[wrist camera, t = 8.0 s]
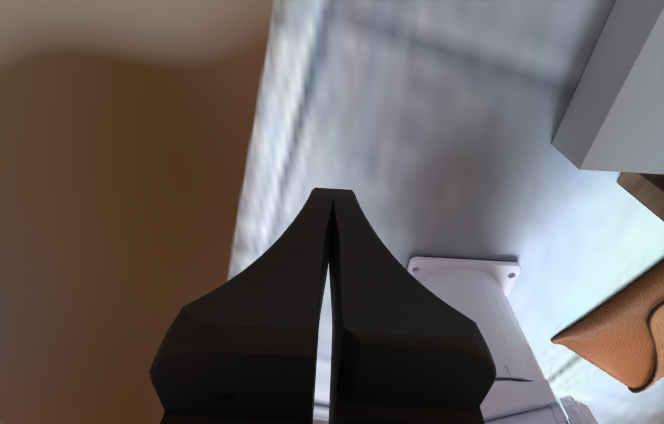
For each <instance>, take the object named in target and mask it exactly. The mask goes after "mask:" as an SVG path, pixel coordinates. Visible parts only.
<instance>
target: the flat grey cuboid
mask: <svg viewBox="0 0 664 424" xmlns="http://www.w3.org/2000/svg"><path fill="white" fill-rule="evenodd" d="M552 145H553V146H554V147H555V148H556V149H557V150H559V151H560V152H561V153H562V154H563V155H564V156H565V157H566V158H567V159H569V160H570V161H571V162H572V163H573V164H574V165H575V166H576V167H577V168H578V169H583V170H600V171H616V172H633V173H650V174H664V0H616V1H615V3H614V5H613V7H612V10H611V12H610V14H609V16H608V19H607V21H606V23H605V25H604V28H603V30H602V32H601V34H600V36H599V39H598V41H597V43H596V45H595V48H594V50H593V52H592V54H591V57H590V59H589V61H588V63H587V65H586V68H585V70H584V72H583V74H582V77H581V79H580V81H579V83H578V86H577V88H576V90H575V92H574V94H573V97H572V99H571V101H570V103H569V106H568V108H567V110H566V112H565V115H564V117H563V119H562V121H561V123H560V126H559V128H558V130H557V132H556V135H555V137H554V139H553V141H552Z"/></svg>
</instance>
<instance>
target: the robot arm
mask: <svg viewBox="0 0 664 424" xmlns="http://www.w3.org/2000/svg"><path fill="white" fill-rule="evenodd" d="M328 263H329V273H330V289H331V305H332V354H331V380H330V405H329V424H569V423H568V420H569V422H570V424H598V423H597V421H596V419H595V418H594V416H593V414H592V413H591V411H590V409H589V408H588V407H587V406H586V405H584V404H583V403H581V402H579V401H575V400H574V399H573V397H571V396H565V397H562V398H560V400H561V403H562V405H563V407H564V409H565V411H566V413H567V415H568V417H569V419H568V420H567V418H566V416H565V414H564V412H563V410H562V408H561V407H560V405H559V403H558V401H557V399H556V397H555V395H554V393H553V391H552V389H551V387H550V386H549V384H548V382H547V380H546V379H545V377H544V375H543V373H542V371H541V369H540V367H539V365H538V363H537V361H536V358H535V356H534V354H533V352H532V350H531V348H530V346H529V344H528V342H527V340H526V338H525V335H524V333H523V331H522V329H521V327H520V325H519V323H518V321H517V319H516V317H515V315H514V312H513V310H512V308H511V306H510V304H509V302H508V300H507V297H508V295H509V293H510V291H511V289H512V287H513V285H514V283H515V281H516V279H517V277H518V275H519V273H520V271H521V267H520V265H519V264H518V263H516V262H502V261H485V260H468V259H450V258H433V257H413V258H412V259H410V261H409V265H408V269H407V270H406V269H405V268H404V267H403V266H402V265H401V264H400V263H399V262H398V261H397V260H396V258H395V257H394V256H393V255H392V254H391V253H390V251H389V250H388V249H387V248H386V246H385V245H384V244H383V243H382V241H381V240H380V238H379V237H378V236H377V234H376V233H375V231H374V230H373V228H372V227H371V225H370V223H369V222H368V220H367V218H366V217H365V215H364V213H363V211H362V209H361V207H360V205H359V203H358V201H357V199H356V196H355V194H354V192H353V191H352V190H343V189H327V188H314V189H313V190H312V191H311V194H310V196H309V198H308V200H307V201H306V203H305V205H304V206H303V208H302V210H301V211H300V212H299V214H298V215H297V217H296V218H295V219H294V221H293V222H292V223H291V225H290V226H289V227H288V228H287V230H286V231H285V232H284V233H283V234H282V235H281V237H280V238H279V239H278V240H277V241H276V242H275V243H274V244H273V245H272V246H271V247H270V248H269V249H268V250H267V251H266V252H265V253H264V254H263V255H262V256H260V257H259V258H258V259H257V260H256V261H255V262H253V263H252V264H251V265H250V266H249V267H247V268H246V269H245V270H243V271H242V272H241V273H239V274H238V275H236V276H235V277H233V278H232V279H231V280H229V281H228V282H226V283H225V284H223V285H222V286H220V287H219V288H217V289H215V290H213V291H212V292H210V293H208V294H206V295H204V296H203V297H200V298H199V299H197V300H195V301H193V302H191V303H189V304H187V305H185V306H183V307H182V309H181V311H180V312H179V314H178V315H177V317H176V318H175V320H174V322H173V323H172V325H171V326H170V328H169V329H168V331H167V333H166V335H165V337H164V339H163V341H162V343H161V345H160V347H159V349H158V352H157V354H156V356H155V358H154V360H153V363H152V365H151V368H150V377H151V381H152V384H153V386H154V388H155V390H156V393H157V395H158V397H159V399H160V401H161V403H162V406H163V408H164V410H165V413H164V415H163V418H162V420H161V423H160V424H313V410H314V394H315V378H316V362H317V347H318V331H319V321H320V313H321V307H322V301H323V295H324V288H325V282H326V276H327V270H328ZM416 267H417V268H416ZM413 268H416V269H413ZM510 273H511V274H510Z"/></svg>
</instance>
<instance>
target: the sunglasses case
mask: <svg viewBox="0 0 664 424" xmlns="http://www.w3.org/2000/svg"><path fill="white" fill-rule="evenodd" d="M551 342H552V343H554V344H561V345H564V346H566V347H567V348H569V349H570V350H572V351H574V352H575V353H576V354H578V355H580V356H581V357H583V358H585V359H586V360H587V361H589V362H591V363H592V364H594V365H595V366H597V367H598V368H600V369H602V370H603V371H605V372H607V373H608V374H609V375H611V376H612V377H614V378H615V379H617V380H618V381H620V382H621V383H623V384H625V385H626V386H628V389H629V390H630V391H631V392H632V393H640V392H642V391H644V390H646V389H648V388H649V387H650V386H652V385H653V384H654V383H655V382H656V381H658V380H659V379H660V378H662V377H664V260H663V261H661V262H660V263H658V264H657V265H656V266H654V267H653V268H652V269H650V270H649V271H648V272H646V273H645V274H644V275H643V276H641V277H640V278H638V279H637V280H636V281H634V282H633V283H632V284H630V285H629V286H628V287H626V288H625V289H624V290H622V291H621V292H619V293H618V294H617V295H615V296H614V297H612V298H611V299H610V300H608V301H607V302H605V303H604V304H603V305H601V306H600V307H598V308H597V309H596V310H594V311H593V312H592V313H591V314H589V315H588V316H586V317H585V318H583V319H581V320H580V321H578V322H577V323H575V324H574V325H572V326H571V327H569V328H568V329H566V330H564V331H562V332H560V333H559V334H558V335H557V336H555V337H554V338H553V339H551Z"/></svg>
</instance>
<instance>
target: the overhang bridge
mask: <svg viewBox="0 0 664 424" xmlns="http://www.w3.org/2000/svg"><path fill="white" fill-rule="evenodd" d="M617 183H618V184H619V185H620V186H621V187H623V188H624V189H625V190H626V191H628V192H629V193H630V194H631V195H632V196H634V197H635V198H636V199H637V200H638V201H640V202H641V203H642V204H643V205H644V206H646V207H647V208H648V209H649V210H650V211H652V212H653V213H654V214H655V215H656V216H658V217H659V218H660V219H661V220H663V221H664V174H650V173H633V172H623V173H622V175H621V177H620V178H619V180H618V181H617Z"/></svg>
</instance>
